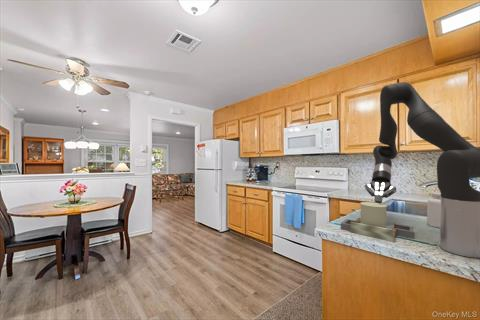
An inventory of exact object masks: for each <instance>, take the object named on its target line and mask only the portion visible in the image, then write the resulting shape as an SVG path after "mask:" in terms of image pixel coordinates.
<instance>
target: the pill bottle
mask: <svg viewBox="0 0 480 320" xmlns="http://www.w3.org/2000/svg"><path fill="white" fill-rule="evenodd" d="M440 209H441V193H440V192H431V198H428V199H427V208H426V210H427V213H426V225H428V226H431V227H435V228H437V229H440Z"/></svg>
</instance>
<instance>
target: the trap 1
mask: <svg viewBox="0 0 480 320" xmlns="http://www.w3.org/2000/svg"><path fill="white" fill-rule="evenodd" d="M356 220H357V219H355V220H354V219H351V218H350V219H349V218H345V219H344V220H343V221H342V222H340V230H344V231H348V232H350V224H351V222H355V221H356Z"/></svg>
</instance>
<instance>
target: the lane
mask: <svg viewBox="0 0 480 320" xmlns="http://www.w3.org/2000/svg"><path fill="white" fill-rule="evenodd" d="M355 220H356V221H355V222H351V224H350V231H349V232H350V233H352V234H357V235H362V236H366V237H371V238H375V239H380V240H385V241H389V242H393V243H394V242H395V240H396V236H397V235H396V228H397V226H398V224H399V223H394V224H393V227H392V228H387V227H386V228H382V227H377V226H371V225H366V224H361V223H360V222H361V217H358V218H357V219H355Z"/></svg>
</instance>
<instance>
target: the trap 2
mask: <svg viewBox="0 0 480 320" xmlns="http://www.w3.org/2000/svg"><path fill="white" fill-rule="evenodd" d="M397 224H398V226H397V228H396V236H398V235H400V236H399V237H403V236H404V238H408V239H414V234H415V233H414V226H411V225H407V224H406V225H405V224H400V223H397Z"/></svg>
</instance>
